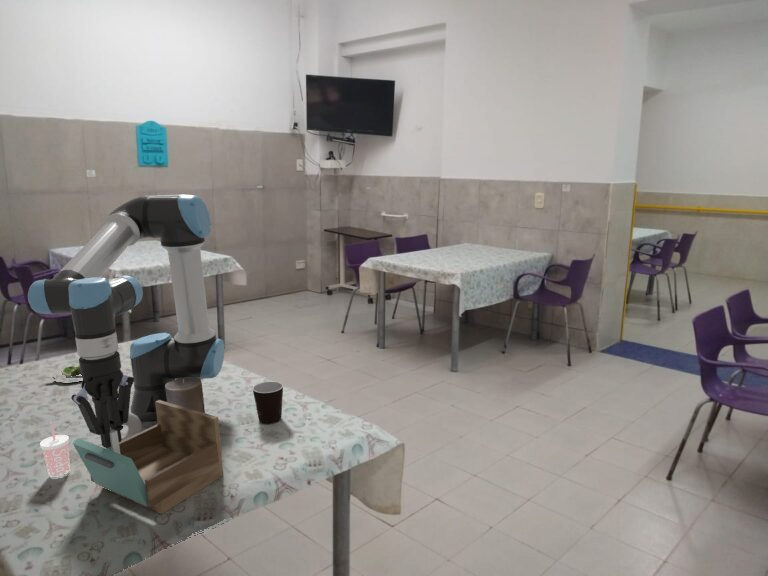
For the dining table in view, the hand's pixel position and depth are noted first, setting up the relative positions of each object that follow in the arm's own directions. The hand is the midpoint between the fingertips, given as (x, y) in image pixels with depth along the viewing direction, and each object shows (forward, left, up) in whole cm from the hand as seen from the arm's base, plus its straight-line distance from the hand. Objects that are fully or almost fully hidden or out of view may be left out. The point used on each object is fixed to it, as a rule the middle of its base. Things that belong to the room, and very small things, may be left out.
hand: (114, 458), depth 121 cm
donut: (-23, +17, -12) cm, 31 cm away
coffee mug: (-1, +50, -12) cm, 51 cm away
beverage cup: (-25, +1, -12) cm, 28 cm away
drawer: (0, +11, -12) cm, 16 cm away
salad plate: (-85, +44, -12) cm, 97 cm away
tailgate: (0, +1, -9) cm, 9 cm away
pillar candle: (-17, +33, -12) cm, 39 cm away
